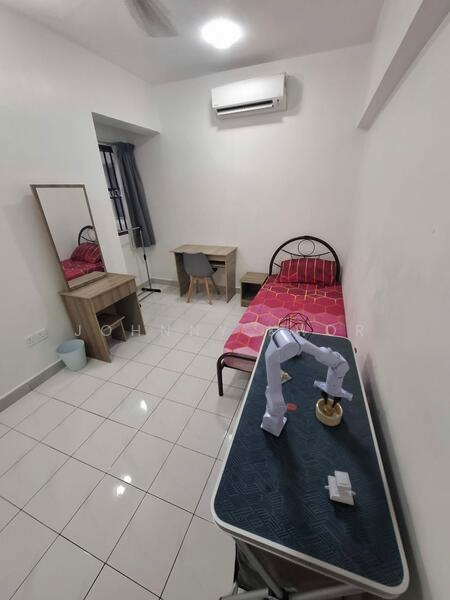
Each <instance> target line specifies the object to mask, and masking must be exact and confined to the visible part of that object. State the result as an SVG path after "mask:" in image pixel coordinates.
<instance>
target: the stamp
mask: <svg viewBox="0 0 450 600" xmlns="http://www.w3.org/2000/svg"><path fill="white" fill-rule="evenodd" d="M327 482H328V485H325V486H324V488H325V490H327V491H328V492H329V499H330V500H332V501H335V502H340V503H343V504H348V505H351V506H355V503H354V498H353V497H354V496H356V495H357V494H356V492H355V491H353V490H352V484H351V480H350V476H349V473H348V472H345V471H339V470H334V476H333V475H327Z"/></svg>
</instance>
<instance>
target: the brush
mask: <svg viewBox="0 0 450 600" xmlns="http://www.w3.org/2000/svg"><path fill="white" fill-rule="evenodd" d="M332 405H333V402H332V401H330V400H328V401H327V404H326V405H324V406H323V412H324V413H325V414H326V415H328V416H332V415H333V414H334V408H332Z"/></svg>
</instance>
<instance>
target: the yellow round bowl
mask: <svg viewBox="0 0 450 600" xmlns="http://www.w3.org/2000/svg"><path fill="white" fill-rule="evenodd" d="M328 400H330V401H332V402H333V401H334V399H331V398H328ZM324 405H325V403H324V399H323V398H320V399H318V401H316V406H315V416H316V418H317V419H318V421H319V422H321V423H322V424H324V425H326V426H330V427H335V426H337V425H339V424H340V423H341V421H342V417H343V408H342V406H341V405H340V403H339V402H338V403H337V404H336V405H335V406H334V414H333V415H332V416H328V415H326V414H325V413H324V412H323V406H324Z"/></svg>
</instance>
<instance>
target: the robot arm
mask: <svg viewBox="0 0 450 600" xmlns="http://www.w3.org/2000/svg"><path fill="white" fill-rule="evenodd" d="M302 352H304V353H307V354H308V355H311V356H313V357H314V358H315V360H316V361H317V362H319V363H321V364H323V365H324V366H327V367H328V369H327V374H326V381H325V382H324V381H319V380H314V383H313V388H319V389H320V390H321V391H320V395H321V397H322V399H324V403H325V405H326V404H327V401H328V399H329V396H332V397H333V400H334V401H333V405H332V408H334V406H335V405H336V404H337V403H338V404H339V403H341V401H342V399H343V398H344V399H346V400H348V402H352V399H353V393H350V392H348V391H347V390H345V389H343V388H342V387H343V381H344V377H345V376H346V373H347V372H348V371H349V370H350V368H351V366H349V365H350V364H349V362H348V361H347V360H346V358H344V357H343V355H341V354H340V353H339V352H338V351H333V350H332V349H331V347H325V346H320V347H319V346H317V345H315V344H313V343H312V342H310V341H309V340H307V339H306V338H304V337H303V336H301V335H299V334H298V333H296V332H294V331H293V330H289V329H288V328H286V327H280V328H278V329H276V330H275V331H274V332H272V334H271V335H270V341H269V344H268V346H267V348H266V350H265V353H264V358H265V370H266V380H267V386H266V390H265V392H264V396H265V399H266V405H265V413H264V414H263V417H262V422H261V425H260V428H261V429H263V430H265V431H267V432H268V433H270V434H272V435H274V436H276V437H279V436H280V434H281V432H282V430H283V428H284V426H285V424H286V422H287V419H288V418H287V417H285V414H286V413H287V411H288V406H287V404H286V403H285V399H284V395H283V389H282V384H281V371H280V369H281V364H282V363H285V362H286V361H289V360H290V359H292V358H293V357H295V356H300V354H301V353H302Z"/></svg>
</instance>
